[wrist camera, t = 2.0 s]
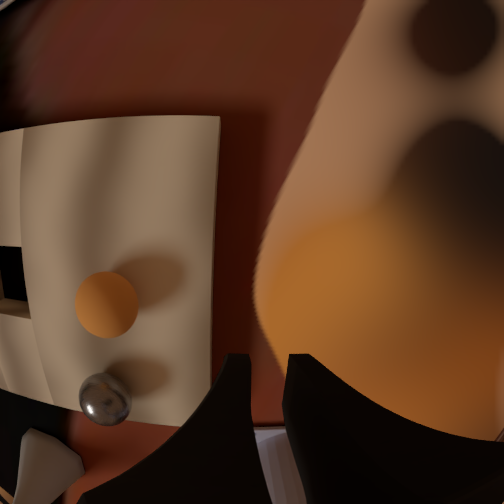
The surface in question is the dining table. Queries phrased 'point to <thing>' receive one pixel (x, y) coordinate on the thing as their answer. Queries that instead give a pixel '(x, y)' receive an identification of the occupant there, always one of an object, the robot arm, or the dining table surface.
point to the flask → (45, 468)
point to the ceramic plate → (5, 3)
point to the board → (112, 257)
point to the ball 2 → (105, 399)
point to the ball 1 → (106, 304)
